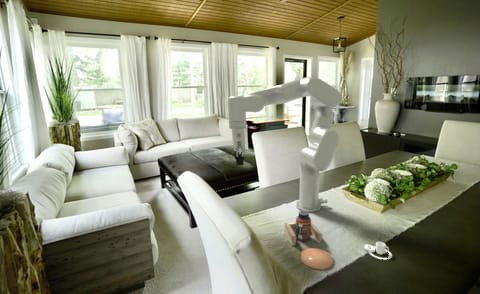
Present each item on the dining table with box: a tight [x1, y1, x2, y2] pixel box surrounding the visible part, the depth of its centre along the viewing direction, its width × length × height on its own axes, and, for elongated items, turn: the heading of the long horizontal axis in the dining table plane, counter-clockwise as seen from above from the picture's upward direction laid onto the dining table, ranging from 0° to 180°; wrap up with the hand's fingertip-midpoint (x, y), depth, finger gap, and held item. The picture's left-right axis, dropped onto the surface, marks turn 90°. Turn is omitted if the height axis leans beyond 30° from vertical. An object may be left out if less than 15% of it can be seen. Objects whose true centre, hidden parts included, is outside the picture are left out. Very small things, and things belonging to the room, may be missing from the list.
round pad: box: [300, 247, 334, 271], centre depth 93 cm, size 11×11×1 cm
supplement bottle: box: [295, 210, 312, 242], centre depth 105 cm, size 6×6×11 cm
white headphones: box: [364, 241, 393, 261], centre depth 96 cm, size 9×8×4 cm
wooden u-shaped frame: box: [284, 220, 323, 246], centre depth 107 cm, size 12×10×4 cm
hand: (239, 162), depth 117 cm, fingers open, 9 cm apart
